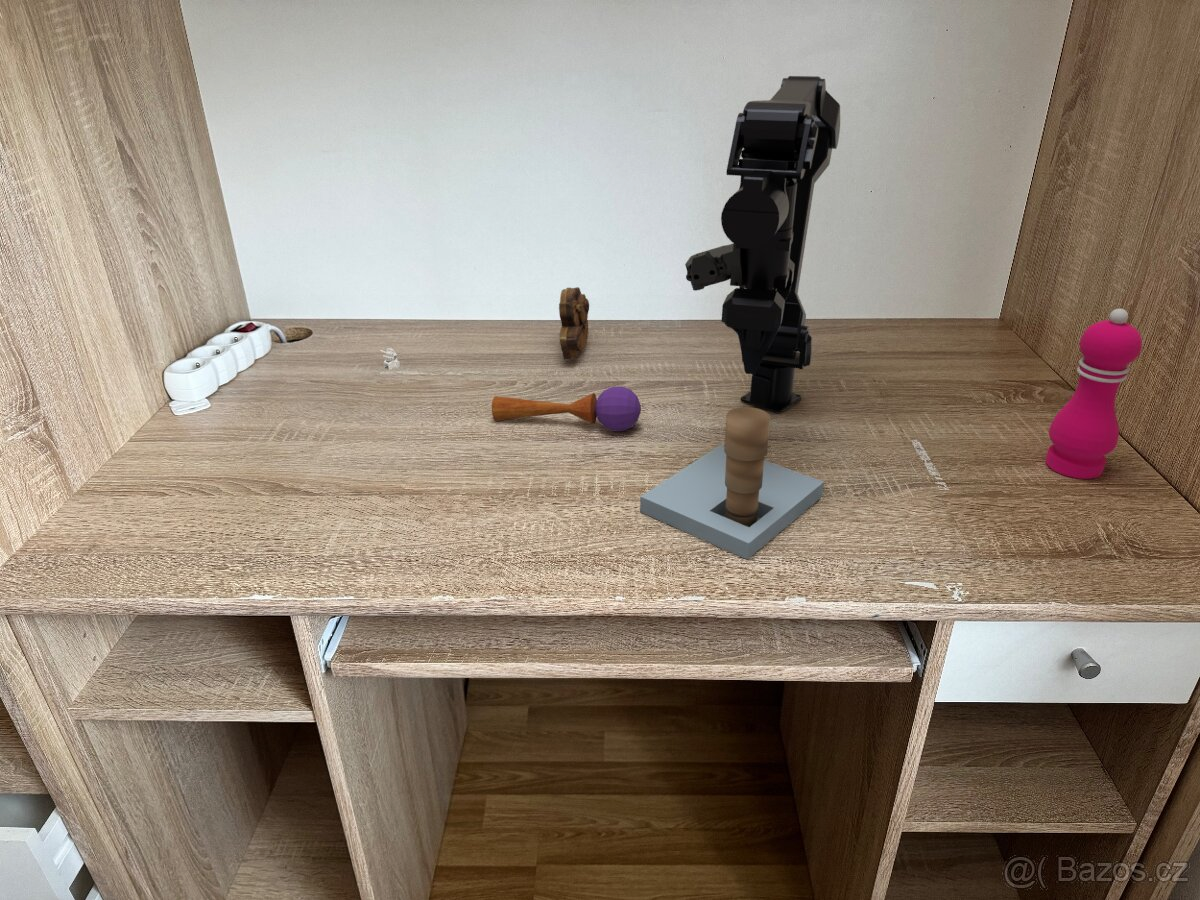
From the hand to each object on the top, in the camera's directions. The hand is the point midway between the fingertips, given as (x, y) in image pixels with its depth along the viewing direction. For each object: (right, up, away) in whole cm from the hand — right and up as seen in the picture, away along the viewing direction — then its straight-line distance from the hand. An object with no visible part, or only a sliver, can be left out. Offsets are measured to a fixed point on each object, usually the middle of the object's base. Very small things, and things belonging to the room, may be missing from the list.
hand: (754, 358), depth 98 cm
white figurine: (-52, +2, +33) cm, 62 cm away
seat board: (-3, -17, -4) cm, 18 cm away
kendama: (-23, -8, +15) cm, 28 cm away
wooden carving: (-22, +6, +39) cm, 45 cm away
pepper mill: (+39, -13, +3) cm, 42 cm away
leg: (-3, -19, -8) cm, 21 cm away
